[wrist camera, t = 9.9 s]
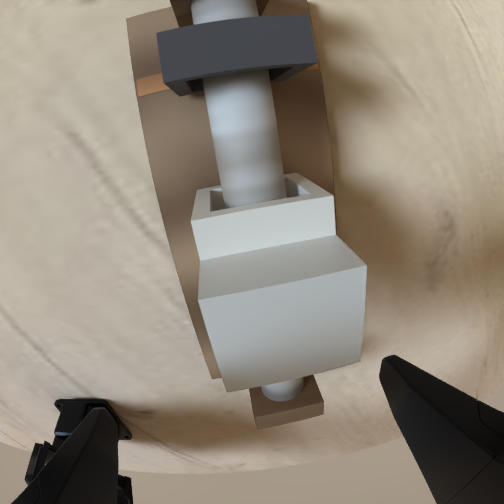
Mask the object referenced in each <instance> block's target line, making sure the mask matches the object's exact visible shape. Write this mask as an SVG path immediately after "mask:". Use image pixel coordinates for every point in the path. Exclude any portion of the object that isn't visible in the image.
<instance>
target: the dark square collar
mask: <svg viewBox="0 0 504 504" xmlns="http://www.w3.org/2000/svg"><path fill="white" fill-rule="evenodd" d="M156 36H157V44H158V51H159V57H160V64H161V70H162V77H163V83H164V84H165V85H166V86H168V87H169V88H170V89H171V90H172V91H173V92H175V93H176V94H177V95H178V96H179V97H181V96H185V95H190V94H195V93H200V92H204V86H203V80H202V78H205V77H211V76H217V75H223V74H229V73H236V72H244V71H252V70H261V69H268V71H269V77H270V82H278V81H285V80H286V79H288V78H290V77H292V76H294V75H296V74H297V73H299V72H301V71H303V70H305V69H307V68H309V67H311V66H313V65H315V64H317V63H318V61H317V55H316V50H315V44H314V39H313V34H312V29H311V24H310V19H309V15H275V16H258V17H246V18H236V19H228V20H220V21H213V22H207V23H201V24H195V25H190V26H185V27H180V28H175V29H170V30H166V31H162V32H158V33H156Z"/></svg>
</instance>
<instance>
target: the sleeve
mask: <svg viewBox="0 0 504 504" xmlns="http://www.w3.org/2000/svg"><path fill="white" fill-rule="evenodd" d="M284 181H285V189H286V197H287V198H284V199H278V200H272V201H266V202H260V203H255V204H249V205H244V206H238V207H233V208H228V209H225V204H224V199H223V194H222V188H221V185H219V186H214V187H209V188H204V189H199V190H197V193H196V197H195V202H194V207H193V212H192V217H191V225H192V229H193V233H194V238H195V242H196V246H197V250H198V254H199V258H200V269H199V288H198V302H199V306H200V309H201V312H202V316H203V319H204V323H205V326H206V329H207V332H208V336H209V339H210V342H211V345H212V349H213V352H214V355H215V358H216V361H217V364H218V367H219V370H220V373H221V376H222V379H223V382H224V385H225V388H226V391H227V392H232V391H238V390H244V389H249V388H255V387H260V386H265V385H270V384H274V383H279V382H284V381H288V380H293V379H297V378H301V377H305V376H309V375H313V374H317V373H321V372H325V371H328V370H332V369H336V368H339V367H343V366H346V365H350V364H353V363H356V362H360V359H361V350H362V340H363V328H364V315H365V299H366V278H367V265H366V264H365V263H364V262H363V261H362V260H361V259H360V258H359V257H358V256H357V255H356V254H355V253H354V252H353V251H352V250H351V249H350V248H349V247H348V246H347V245H346V244H345V243H344V242H343V241H342V240H341V239H340V238H339V237H338V236H337V235H336V229H335V211H334V196H333V195H332V194H330V193H329V192H327V191H325V190H324V189H322V188H321V187H319V186H318V185H316V184H314V183H313V182H311V181H310V180H308V179H306V178H305V177H303V176H301V175H300V174H298V173H290V174H284Z"/></svg>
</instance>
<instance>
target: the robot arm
mask: <svg viewBox="0 0 504 504" xmlns="http://www.w3.org/2000/svg"><path fill="white" fill-rule="evenodd" d="M379 379H380V382H381V385H382V387H383V390H384V392H385V395H386V398H387V400H388V403H389V406H390V408H391V411H392V413H393V416H394V418H395V420H396V422H397V424H398V426H399V428H400V430H401V432H402V434H403V436H404V438H405V440H406V442H407V444H408V446H409V448H410V450H411V452H412V453H413V456H414V458H415V460H416V462H417V464H418V466H419V468H420V470H421V472H422V474H423V476H424V478H425V480H426V482H427V484H428V486H429V488H430V491H431V492H432V495H433V497H434V499H435V501H436V503H437V504H504V412H501V411H498V410H497V409H495V408H493V407H491V406H489V405H487V404H485V403H483V402H481V401H479V400H478V401H477V399H475V398H473V397H471V396H470V395H468V394H466V393H464V392H462V391H460V390H458V389H457V388H455V387H453V386H451V385H449V384H447V383H446V382H444V381H442V380H440V379H438V378H436V377H435V376H433V375H431V374H429V373H427V372H425V371H424V370H422V369H420V368H418V367H416V366H415V365H413V364H411V363H409V362H407V361H406V360H404V359H402V358H400V357H398V356H396V355H390V356H388V357H385V358H383V360H382V363H381V368H380V373H379ZM54 405H55V406H56V408H57V409H58V410H59V411H60V412H61V413H60V416H59V419H58V422H57V425H56V428H55V431H54V434H55V438H54V441H53V445H51V444H50V443H49V442H47V441H45V442H44V444H38V443H35V446H34V449H33V452H32V455H31V458H30V462H29V465H28V468H27V472H26V476H25V481H26V483H27V485H28V486H27V488H26V489H25V490H24V491H23V492H22V493H21V494H20V495H19V496H18V497H17V498H16V499H15V500H14V501H13V502H12V503H11V504H133V496H132V485H131V478H130V477H126V476H125V477H124V476H121V475H119V474H118V441H119V440H130V439H131V438H132V434H131V433H130V432H129V431H128V429H127V428H126V427H125V425H124V424H123V423H122V422H121V420H120V419H119V418H118V416H117V415H116V414H115V412H114V411H113V410H112V408H111V407H110V405H109V404H108V403H107V402H106V401H104V400H56V401H55V403H54ZM45 464H46V465H45Z"/></svg>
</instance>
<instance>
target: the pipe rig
mask: <svg viewBox="0 0 504 504" xmlns="http://www.w3.org/2000/svg"><path fill="white" fill-rule="evenodd" d="M170 2H171V5H172V7H169V8H165V9H160V10H156V11H152V12H148V13H145V14H141V15H137V16H134V17H131V18H127V19H126V21H127V30H128V39H129V47H130V55H131V62H132V69H133V76H134V82H135V89H136V95H137V101H138V107H139V112H140V118H141V123H142V128H143V134H144V139H145V144H146V149H147V154H148V158H149V163H150V168H151V172H152V177H153V181H154V185H155V190H156V194H157V198H158V202H159V206H160V210H161V214H162V218H163V222H164V226H165V230H166V234H167V238H168V241H169V245H170V249H171V252H172V256H173V260H174V263H175V267H176V270H177V274H178V277H179V280H180V284H181V287H182V291H183V294H184V297H185V300H186V304H187V307H188V310H189V313H190V316H191V319H192V322H193V326H194V329H195V332H196V335H197V338H198V341H199V344H200V347H201V349H202V352H203V355H204V358H205V361H206V364H207V367H208V369H209V372H210V375H211V378H212V379H216V378H222V376H221V373H220V370H219V367H218V364H217V361H216V358H215V355H214V352H213V349H212V345H211V342H210V339H209V336H208V332H207V329H206V326H205V323H204V319H203V316H202V312H201V309H200V306H199V302H198V288H199V269H200V258H199V254H198V250H197V246H196V242H195V238H194V233H193V229H192V225H191V217H192V212H193V207H194V202H195V197H196V193H197V190H199V189H204V188H209V187H214V186H219V185H221V188H222V194H223V199H224V204H225V209H228V208H233V207H238V206H244V205H249V204H255V203H260V202H266V201H272V200H278V199H284V198H287V197H286V189H285V181H284V174H290V173H298V174H300V175H301V176H303V177H305V178H306V179H308V180H310V181H311V182H313V183H314V184H316V185H318V186H319V187H321V188H322V189H324V190H325V191H327V192H329V193H330V194H332V195H333V196H334V211H335V229H336V235H337V226H336V208H335V193H334V180H333V168H332V157H331V147H330V138H329V129H328V121H327V113H326V105H325V98H324V91H323V84H322V78H321V72H320V66H319V60H318V54H317V48H316V43H315V38H314V32H313V27H312V22H311V18H310V13H309V8H308V4H307V0H170ZM275 15H309V19H310V24H311V29H312V34H313V39H314V44H315V50H316V55H317V61H318V63H317V64H315V65H313V66H311V67H309V68H307V69H305V70H303V71H301V72H299V73H297V74H296V75H294V76H292V77H290V78H288V79H286V80H285V81H278V82H270V77H269V71H268V69H261V70H252V71H244V72H236V73H229V74H223V75H217V76H211V77H205V78H202V80H203V86H204V92H200V93H195V94H190V95H185V96H181V97H179V96H178V95H177V94H176V93H175V92H173V91H172V90H171V89H170V88H169V87H168V86H166V85H165V84H164V83H163V77H162V70H161V64H160V57H159V51H158V44H157V36H156V33H158V32H162V31H166V30H170V29H175V28H180V27H185V26H190V25H195V24H201V23H207V22H213V21H220V20H228V19H236V18H246V17H258V16H275ZM249 391H250V397H251V403H252V408H253V414H254V419H255V423H256V426H257V429H262V428H267V427H272V426H277V425H282V424H286V423H291V422H295V421H299V420H304V419H308V418H311V417H315V416H319V415H323V412H324V401H323V398H322V396H321V393H320V391H319V388H318V385H317V383H316V380H315V378H314V375H309V376H305V377H301V378H297V379H293V380H288V381H284V382H279V383H274V384H270V385H265V386H260V387H255V388H249Z"/></svg>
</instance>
